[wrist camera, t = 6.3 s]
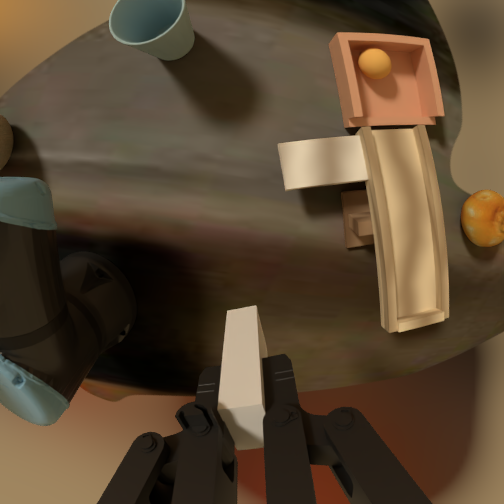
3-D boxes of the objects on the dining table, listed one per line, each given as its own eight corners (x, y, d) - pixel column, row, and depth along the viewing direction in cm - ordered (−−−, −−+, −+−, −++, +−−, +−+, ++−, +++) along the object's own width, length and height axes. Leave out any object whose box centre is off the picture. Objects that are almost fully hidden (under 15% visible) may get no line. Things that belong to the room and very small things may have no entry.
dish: (344, 127, 33) (355, 125, 29) (328, 44, 29) (337, 32, 25) (427, 125, 32) (445, 124, 28) (412, 47, 28) (428, 39, 24)
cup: (206, 14, 28) (188, -25, 18) (202, 66, 31) (180, 39, 21) (148, 19, 28) (115, -12, 18) (142, 71, 31) (104, 50, 21)
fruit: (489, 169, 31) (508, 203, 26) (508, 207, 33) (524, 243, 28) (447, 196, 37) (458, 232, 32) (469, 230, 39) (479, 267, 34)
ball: (366, 53, 25) (353, 43, 27) (365, 84, 28) (353, 72, 31) (398, 54, 25) (383, 44, 27) (395, 84, 28) (381, 72, 30)
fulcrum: (345, 245, 38) (355, 259, 33) (340, 192, 36) (352, 198, 31) (424, 233, 37) (441, 244, 33) (423, 183, 35) (442, 189, 30)
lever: (305, 339, 33) (309, 350, 30) (276, 142, 32) (277, 133, 28) (438, 311, 32) (450, 318, 28) (415, 131, 30) (426, 123, 27)
